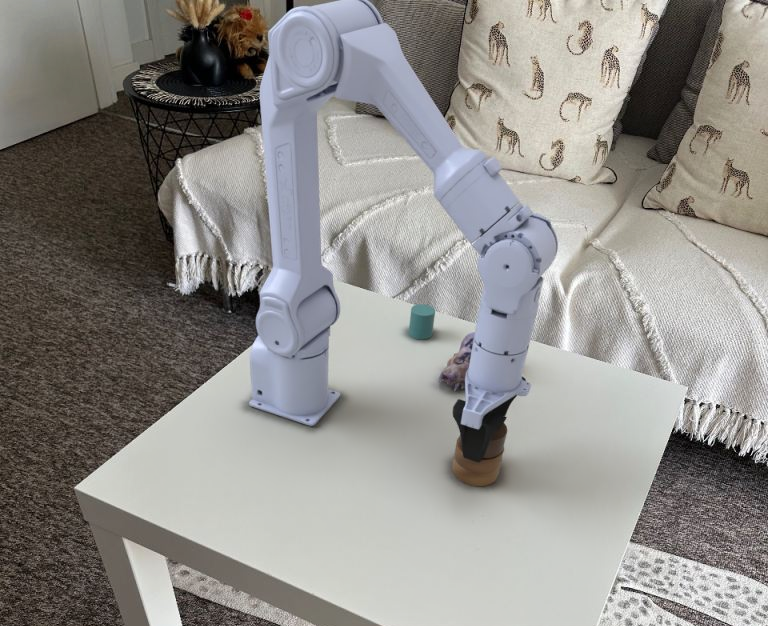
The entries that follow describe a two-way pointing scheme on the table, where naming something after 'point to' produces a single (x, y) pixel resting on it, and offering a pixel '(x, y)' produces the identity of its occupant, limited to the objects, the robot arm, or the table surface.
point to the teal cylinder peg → (421, 321)
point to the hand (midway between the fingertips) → (480, 444)
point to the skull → (459, 364)
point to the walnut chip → (495, 442)
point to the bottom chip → (474, 476)
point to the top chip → (472, 466)
